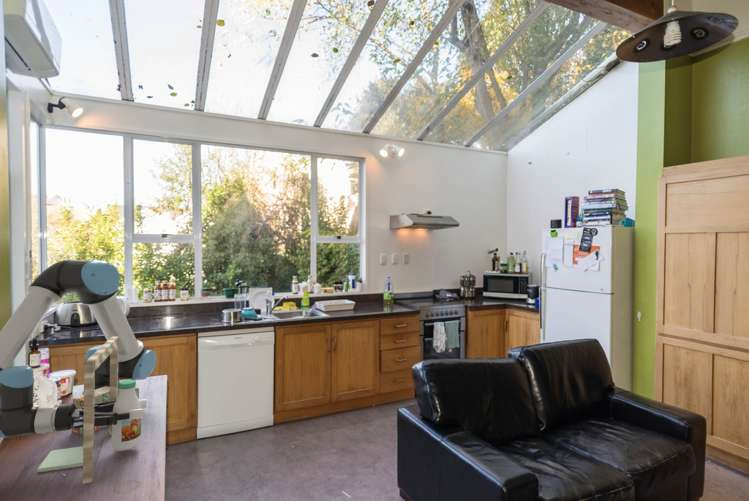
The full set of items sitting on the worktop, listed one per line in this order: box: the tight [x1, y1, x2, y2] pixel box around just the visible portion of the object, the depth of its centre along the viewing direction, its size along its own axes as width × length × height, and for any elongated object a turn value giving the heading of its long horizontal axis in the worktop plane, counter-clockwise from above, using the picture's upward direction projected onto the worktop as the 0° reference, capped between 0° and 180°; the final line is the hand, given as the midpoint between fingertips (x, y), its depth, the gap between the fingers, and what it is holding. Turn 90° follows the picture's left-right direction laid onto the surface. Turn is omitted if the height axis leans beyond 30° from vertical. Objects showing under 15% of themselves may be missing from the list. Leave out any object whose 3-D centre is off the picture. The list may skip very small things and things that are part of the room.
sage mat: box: [36, 445, 83, 473], centre depth 124 cm, size 11×11×1 cm
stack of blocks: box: [71, 386, 140, 436], centre depth 150 cm, size 21×6×12 cm, turn 162°
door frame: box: [82, 336, 119, 485], centre depth 127 cm, size 32×2×33 cm, turn 21°
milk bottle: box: [111, 379, 142, 451], centre depth 129 cm, size 8×8×20 cm
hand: (144, 408), depth 131 cm, fingers closed on milk bottle, 7 cm apart
